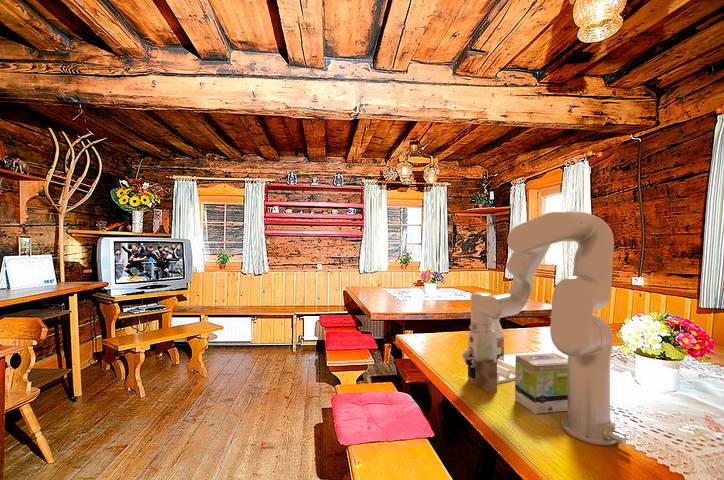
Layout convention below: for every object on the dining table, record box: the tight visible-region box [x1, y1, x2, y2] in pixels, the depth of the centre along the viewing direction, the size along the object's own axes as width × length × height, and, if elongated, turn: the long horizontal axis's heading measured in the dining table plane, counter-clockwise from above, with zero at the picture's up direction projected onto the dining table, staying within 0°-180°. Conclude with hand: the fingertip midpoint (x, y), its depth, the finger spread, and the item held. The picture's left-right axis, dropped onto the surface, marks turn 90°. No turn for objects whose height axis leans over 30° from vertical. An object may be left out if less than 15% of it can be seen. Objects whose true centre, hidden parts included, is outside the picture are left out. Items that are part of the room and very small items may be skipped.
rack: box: [497, 359, 516, 385], centre depth 129 cm, size 14×14×4 cm
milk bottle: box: [493, 318, 505, 362], centre depth 144 cm, size 8×8×20 cm
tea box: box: [514, 352, 568, 415], centre depth 104 cm, size 15×10×15 cm
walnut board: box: [467, 357, 498, 394], centre depth 118 cm, size 11×3×10 cm, turn 23°
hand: (482, 375), depth 118 cm, fingers open, 9 cm apart
